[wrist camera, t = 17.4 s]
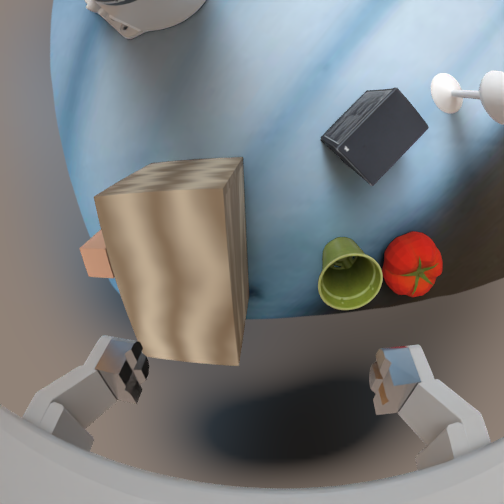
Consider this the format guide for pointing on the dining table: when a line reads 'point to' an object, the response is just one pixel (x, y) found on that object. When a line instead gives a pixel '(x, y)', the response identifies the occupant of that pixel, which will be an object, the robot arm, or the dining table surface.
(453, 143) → the dining table surface
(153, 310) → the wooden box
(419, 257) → the tomato
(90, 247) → the terracotta block
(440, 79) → the champagne flute
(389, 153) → the small box
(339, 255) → the plant pot
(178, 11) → the robot arm
